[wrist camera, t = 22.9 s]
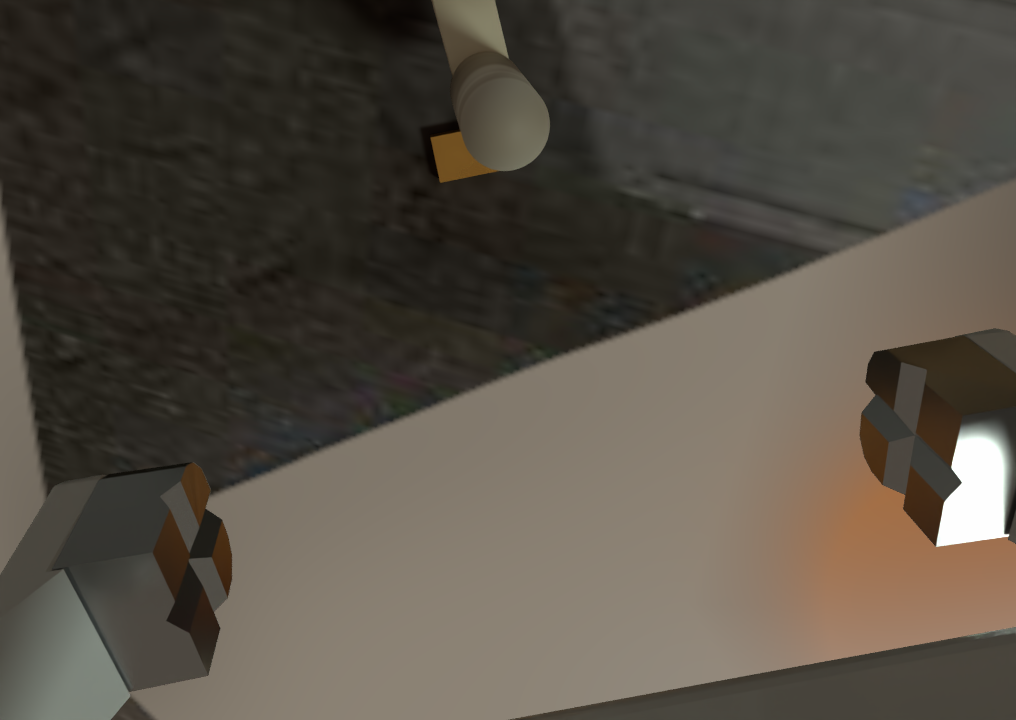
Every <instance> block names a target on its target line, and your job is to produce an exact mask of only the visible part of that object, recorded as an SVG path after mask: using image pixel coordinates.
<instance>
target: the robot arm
mask: <svg viewBox="0 0 1016 720" xmlns="http://www.w3.org/2000/svg"><path fill="white" fill-rule="evenodd" d="M866 383H867V385H868V386H869V387H870V389H871V390H872V391H873V392H874V394H875V397H874V398H873V399H872V400H871V402H870V403H869V404H868V406H866V408H865V409H864V410H863V411H862V414H861V426H860V440H861V445H862V449H863V454H864V457H865V459H866V461H867V463H868V465H869V467H870V469H871V471H872V473H873V474H874V475H875V476H876V477H877V479H878V480H879V481H880V482H881V484H882V485H884V486H886V487H888V488H890V489H893V490H895V491H897V492H900V493H902V494H904V495H905V500H904V507H903V509H904V511H905V512H906V513H907V514H908V515H909V516H910V518H911V519H912V520H913V521H914V522H915V523H916V525H917V526H918V527H919V528H920V529H921V530H922V531H923V533H924V534H925V535H926V536H927V537H928V538H929V540H930V541H931V542H932V543H933V544H934V545H935V546H936V547H938V546H945V545H951V544H958V543H965V542H972V541H978V540H985V539H991V538H998V537H1005V536H1009V537H1008V540H1010V541H1012V542H1014V543H1015V544H1016V336H1015V335H1014V334H1012V333H1011V332H1009V331H1006V330H1001V329H990V330H984V331H979V332H974V333H970V334H964V335H959V336H955V337H952V338H947V339H941V340H936V341H930V342H925V343H920V344H914V345H909V346H904V347H898V348H893V349H887V350H882V351H876V352H874V354H873V355H872V357H871V360H870V361H869V363H868V368H867V375H866ZM210 492H211V489H210V487H209V485H208V482H207V480H206V478H205V475H204V473H203V471H202V468H200V467H199V466H198V465H196V464H195V463H193V462H191V463H184V464H177V465H170V466H163V467H156V468H149V469H142V470H135V471H128V472H121V473H114V474H109V475H107V476H105V475H99V476H93V477H87V478H82V479H76V480H70V481H65V482H63V483H60V484H58V485H56V486H54V488H53V489H52V491H51V493H50V494H49V496H48V497H47V499H46V501H45V502H44V504H43V506H42V507H41V509H40V511H39V512H38V514H37V516H36V517H35V519H34V520H33V522H32V524H31V525H30V527H29V529H28V530H27V532H26V534H25V535H24V537H23V539H22V540H21V542H20V543H19V545H18V547H17V548H16V550H15V552H14V553H13V555H12V557H11V558H10V560H9V561H8V563H7V565H6V566H5V568H4V570H3V571H2V573H1V575H0V720H111V718H112V717H113V716H114V715H115V714H116V713H117V711H118V710H119V709H120V708H121V707H122V705H123V704H124V703H125V702H126V701H127V699H128V698H129V697H130V693H129V692H131V691H136V690H141V689H146V688H151V687H156V686H160V685H165V684H170V683H175V682H180V681H185V680H190V679H195V678H199V677H204V676H208V675H209V671H210V667H211V663H212V659H213V655H214V651H215V647H216V642H217V639H218V635H219V631H220V626H219V624H218V621H217V619H216V616H215V614H214V611H215V610H216V609H217V608H218V607H219V606H220V605H221V604H222V603H223V602H224V601H225V600H226V599H227V598H228V595H229V590H230V585H231V581H232V553H231V548H230V543H229V538H228V535H227V532H226V529H225V526H224V524H223V521H222V519H220V518H219V517H217V516H216V515H214V514H213V513H211V512H210V511H208V510H207V509H205V508H206V505H207V502H208V499H209V495H210ZM510 720H1016V627H1013V628H1008V629H1002V630H996V631H991V632H985V633H980V634H974V635H969V636H964V637H958V638H953V639H947V640H941V641H936V642H930V643H925V644H920V645H914V646H908V647H903V648H898V649H892V650H886V651H881V652H875V653H870V654H865V655H859V656H853V657H848V658H842V659H837V660H831V661H825V662H820V663H814V664H810V665H803V666H798V667H792V668H787V669H782V670H776V671H771V672H765V673H760V674H754V675H749V676H744V677H738V678H732V679H727V680H722V681H716V682H711V683H705V684H700V685H695V686H689V687H684V688H678V689H673V690H667V691H662V692H657V693H652V694H646V695H640V696H635V697H630V698H624V699H619V700H613V701H608V702H602V703H597V704H591V705H586V706H581V707H575V708H570V709H565V710H559V711H554V712H548V713H543V714H538V715H532V716H526V717H521V718H516V719H510Z"/></svg>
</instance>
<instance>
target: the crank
mask: <svg viewBox="0 0 1016 720" xmlns="http://www.w3.org/2000/svg"><path fill="white" fill-rule="evenodd" d="M431 1H432V4H433V8H434V11H435V15H436V19H437V22H438V26H439V29H440V33H441V37H442V40H443V44H444V48H445V51H446V55H447V58H448V62H449V66H450V69H451V73H452V76H453V77H452V80H451V85H450V96H451V101H452V104H453V107H454V111H455V114H456V118H457V121H458V124H459V128H460V131H461V134H462V138H463V141H464V143H465V146H466V148H467V150H468V151H469V153H470V154H471V155H472V156H473V158H474V159H475V160H477V161H478V162H479V163H480V164H482V165H484V166H486V167H488V168H490V169H494V170H499V171H510V170H515V169H518V168H521V167H523V166H525V165H527V164H529V163H530V162H532V161H533V160H534V159H535V158H536V157H537V156H538V155H539V154H540V152H541V151H542V149H543V148H544V146H545V144H546V141H547V139H548V135H549V129H550V120H549V114H548V110H547V108H546V105H545V103H544V101H543V100H542V98H541V97H540V96H539V94H538V93H537V92H536V91H535V89H534V88H533V87H532V86H531V84H530V83H529V82H528V81H527V79H526V78H525V77H524V76H523V74H522V73H521V72H520V71H519V69H518V68H517V67H516V66H515V64H514V63H513V62H512V61H511V60H510V59H509V58H508V54H507V50H506V45H505V41H504V37H503V33H502V29H501V25H500V20H499V16H498V12H497V8H496V4H495V0H431Z"/></svg>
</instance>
